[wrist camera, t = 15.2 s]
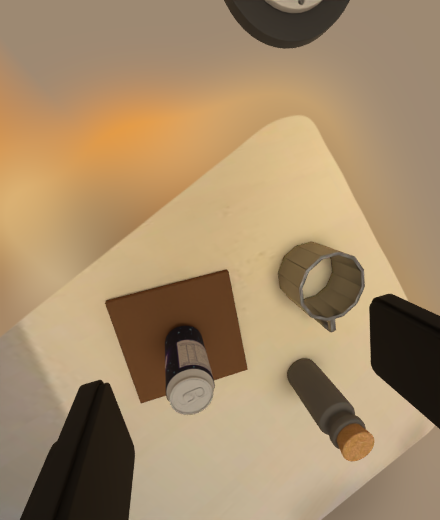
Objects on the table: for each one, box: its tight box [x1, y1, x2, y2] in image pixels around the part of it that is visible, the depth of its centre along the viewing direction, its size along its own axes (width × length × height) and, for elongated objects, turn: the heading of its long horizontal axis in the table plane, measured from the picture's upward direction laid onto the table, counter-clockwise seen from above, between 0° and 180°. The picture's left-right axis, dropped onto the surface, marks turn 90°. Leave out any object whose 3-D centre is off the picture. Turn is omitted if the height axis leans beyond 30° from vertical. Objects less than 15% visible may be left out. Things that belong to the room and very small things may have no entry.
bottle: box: [288, 359, 374, 461], centre depth 42 cm, size 6×6×15 cm
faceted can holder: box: [278, 242, 365, 332], centre depth 41 cm, size 13×10×7 cm
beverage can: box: [165, 326, 215, 415], centre depth 35 cm, size 6×6×12 cm
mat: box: [105, 270, 247, 403], centre depth 41 cm, size 18×18×1 cm
